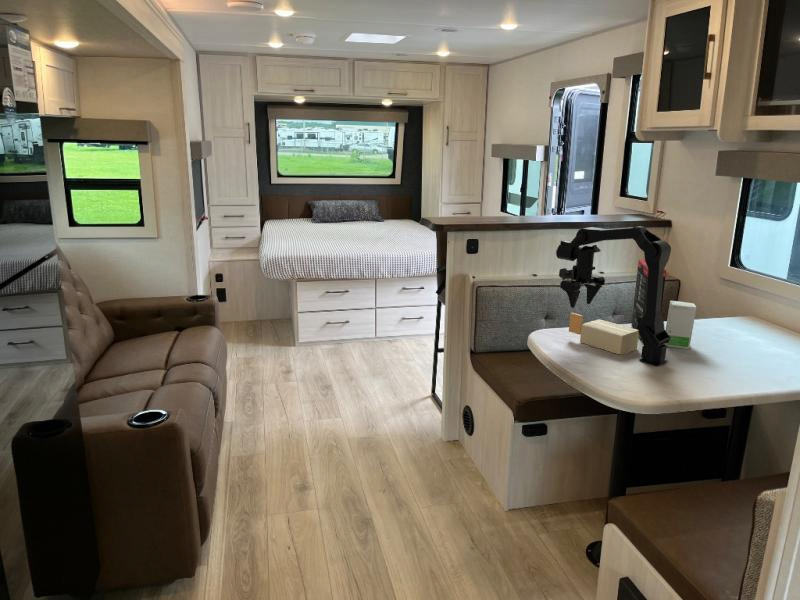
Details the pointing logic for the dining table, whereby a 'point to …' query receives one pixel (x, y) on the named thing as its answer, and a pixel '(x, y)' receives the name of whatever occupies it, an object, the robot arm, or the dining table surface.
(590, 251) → the robot arm
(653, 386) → the dining table surface
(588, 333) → the carton flap
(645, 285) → the graphics card box
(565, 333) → the dining table surface
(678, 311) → the skincare box
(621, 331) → the carton
